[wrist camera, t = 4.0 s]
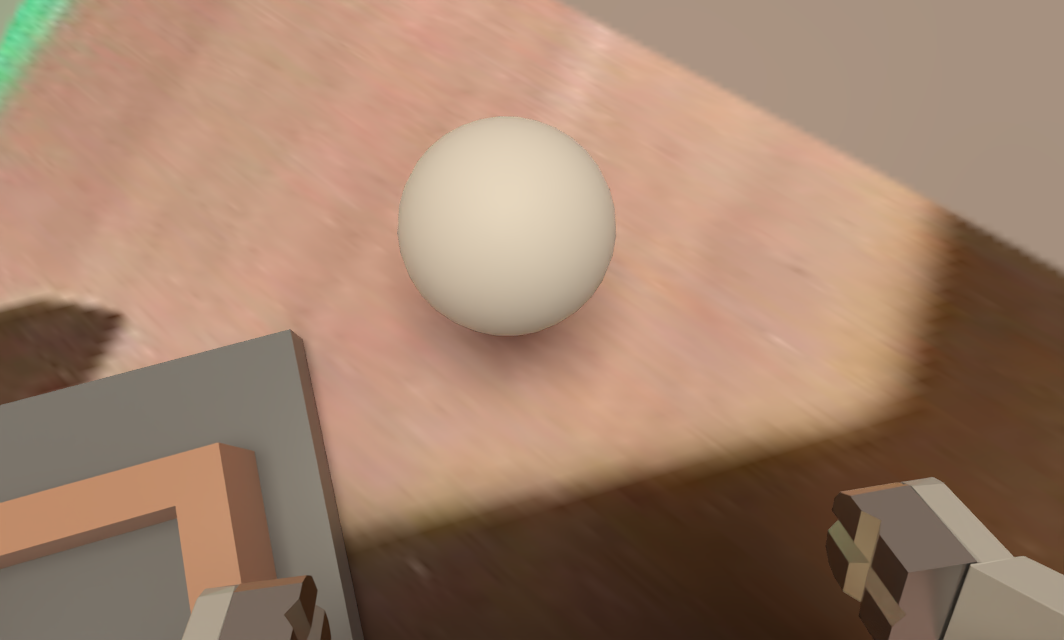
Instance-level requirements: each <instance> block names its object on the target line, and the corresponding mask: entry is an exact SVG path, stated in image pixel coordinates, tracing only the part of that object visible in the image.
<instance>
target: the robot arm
mask: <svg viewBox="0 0 1064 640" xmlns="http://www.w3.org/2000/svg"><path fill="white" fill-rule="evenodd" d="M832 511H833V513H834V514H835V515H836V517H837V518H838V521H837V522H836V523H835V524H834V525H833V526H832V527H831V528H830V529H829V530H828V533H827V540H826V551H827V557H828V562H829V565H830V568H831V570H832V572H833V575H834V577H835V579H836V581H837V582H838V584H839V585H840V587H841V589H842V590H843V591H844V592H845V593H847V594H848V595H850V596H852V597H853V598H855V599H856V600H858V601H860V611H859V617H860V619H861V621H862V622H863V624H864V625H865V627H866V628H867V630H868V632H869V633H870V635H871V636H872V638H873V639H874V640H1064V575H1062V574H1060V573H1058V572H1056V571H1054V570H1052V569H1050V568H1048V567H1046V566H1044V565H1042V564H1040V563H1037V562H1035V561H1033V560H1031V559H1029V558H1027V557H1025V556H1020V557H1014V556H1013V555H1012V554H1011V553H1010V552H1009V551H1008V550H1007V549H1006V548H1005V547H1004V546H1003V545H1002V544H1001V543H1000V542H999V541H998V540H997V539H996V538H995V536H994V535H993V534H992V533H991V532H990V531H989V530H988V529H987V528H986V527H985V526H984V525H983V524H982V523H981V522H980V521H979V520H978V519H977V518H976V517H975V516H974V514H973V513H972V512H971V511H970V510H969V509H968V508H967V507H966V506H965V505H964V504H963V503H962V502H961V501H960V500H959V499H958V498H957V497H956V496H955V495H954V494H953V492H952V491H951V490H950V489H949V488H948V487H947V486H946V485H945V484H944V483H943V482H942V481H940V480H938V479H936V478H934V477H931V478H925V479H919V480H912V481H906V482H901V483H891V484H885V485H879V486H873V487H867V488H861V489H855V490H849V491H843V492H840V493H839V494H838V495H837V496H836V497H835V498H834V503H833V508H832ZM317 592H318V589H317V587H316V585H315V582H314V580H313V577H312V576H310V575H304V576H296V577H288V578H281V579H273V580H265V581H257V582H249V583H241V584H237V585H229V586H222V587H215V588H207V589H204V591H203V592H202V593H201V594H200V596H199V597H198V598H197V600H196V602H195V605H194V607H193V610H192V613H191V616H190V618H189V621H188V624H187V626H186V629H185V632H184V634H183V637H182V640H331V632H330V626H329V621H328V618H327V615H326V612H325V610H324V609H322V608H321V607H319V606H317V605H316V598H317Z"/></svg>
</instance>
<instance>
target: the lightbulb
mask: <svg viewBox="0 0 1064 640" xmlns="http://www.w3.org/2000/svg"><path fill="white" fill-rule="evenodd" d="M397 234H398V240H399V247H400V253H401V256H402V258H403V261H404V263H405V266H406V269H407V271H408V274H409V276H410V278H411V280H412V281H413V283H414V285H415V286H416V288H417V289H418V291H419V292H420V294H421V295H422V296H423V297H424V298H425V299H426V300H427V301H428V302H429V303H430V304H431V305H432V306H433V307H434V308H435V309H436V310H437V311H438V312H440V313H441V314H443V315H444V316H446V317H447V318H449V319H450V320H452V321H453V322H455V323H457V324H459V325H462V326H464V327H466V328H469V329H471V330H474V331H476V332H480V333H485V334H490V335H495V336H518V335H524V334H529V333H535V332H538V331H541V330H543V329H546V328H548V327H551V326H553V325H556V324H558V323H559V322H561V321H563V320H564V319H566V318H567V317H569V316H570V315H572V314H573V313H575V312H576V311H577V310H578V309H580V308H581V307H582V306H583V305H584V304H585V303H586V302H587V301H588V300H589V299H590V298H591V297H592V295H593V294H594V292H595V291H596V289H597V288H598V286H599V285H600V283H601V282H602V280H603V278H604V275H605V273H606V270H607V268H608V265H609V263H610V261H611V258H612V256H613V250H614V244H615V239H616V224H615V209H614V205H613V201H612V197H611V193H610V189H609V187H608V185H607V183H606V181H605V179H604V177H603V175H602V173H601V171H600V169H599V167H598V165H597V164H596V163H595V161H594V160H593V159H592V157H591V156H590V155H589V153H588V152H587V151H586V150H585V149H584V148H583V147H582V146H581V145H580V144H578V143H577V142H576V141H575V140H574V139H573V138H572V137H570V136H568V135H567V134H565V133H563V132H562V131H560V130H558V129H557V128H555V127H552V126H550V125H547V124H544V123H542V122H539V121H536V120H531V119H526V118H521V117H505V116H499V117H492V118H486V119H480V120H477V121H474V122H471V123H468V124H465V125H462V126H460V127H458V128H456V129H454V130H453V131H451V132H449V133H447V134H445V135H444V136H442V137H441V138H440V139H439V140H438V141H436V142H435V143H434V144H433V145H432V146H430V147H429V148H428V150H427V151H426V152H425V153H424V155H423V156H422V157H421V158H420V159H419V161H418V162H417V164H416V165H415V167H414V169H413V171H412V173H411V175H410V177H409V179H408V181H407V183H406V185H405V187H404V190H403V194H402V197H401V201H400V204H399V215H398V232H397Z"/></svg>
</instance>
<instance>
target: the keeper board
mask: <svg viewBox="0 0 1064 640" xmlns="http://www.w3.org/2000/svg"><path fill="white" fill-rule="evenodd" d="M304 575H310V576H312V577H313V580H314V582H315V585H316V587H317V589H318V592H317V598H316V605H317V606H319V607H321V608H322V609H324V610H325V612H326V615H327V618H328V621H329V626H330V632H331V640H364V637H363V632H362V627H361V622H360V618H359V613H358V608H357V603H356V598H355V593H354V588H353V583H352V579H351V574H350V569H349V564H348V559H347V554H346V549H345V545H344V540H343V535H342V530H341V525H340V520H339V515H338V511H337V506H336V501H335V496H334V491H333V486H332V481H331V476H330V472H329V467H328V462H327V457H326V452H325V447H324V442H323V438H322V433H321V428H320V423H319V418H318V413H317V408H316V404H315V399H314V394H313V389H312V384H311V379H310V374H309V370H308V365H307V360H306V355H305V350H304V345H303V340H302V339H301V338H300V337H299V336H298V335H296V334H295V333H294V332H293V331H292V330H286V331H282V332H278V333H274V334H270V335H267V336H263V337H259V338H255V339H251V340H248V341H244V342H240V343H236V344H232V345H229V346H225V347H221V348H217V349H213V350H209V351H206V352H202V353H198V354H194V355H190V356H187V357H183V358H179V359H175V360H171V361H168V362H164V363H160V364H156V365H152V366H148V367H145V368H141V369H137V370H133V371H129V372H126V373H122V374H118V375H114V376H110V377H106V378H103V379H99V380H95V381H91V382H87V383H84V384H80V385H76V386H72V387H68V388H65V389H61V390H57V391H53V392H49V393H45V394H42V395H38V396H34V397H30V398H26V399H23V400H19V401H15V402H11V403H7V404H4V405H0V640H182V637H183V634H184V632H185V629H186V626H187V624H188V621H189V618H190V616H191V613H192V610H193V607H194V605H195V602H196V600H197V598H198V597H199V596H200V594H201V593H202V592H203V591H204V589H207V588H215V587H222V586H229V585H237V584H241V583H249V582H257V581H265V580H273V579H281V578H288V577H296V576H304Z"/></svg>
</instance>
